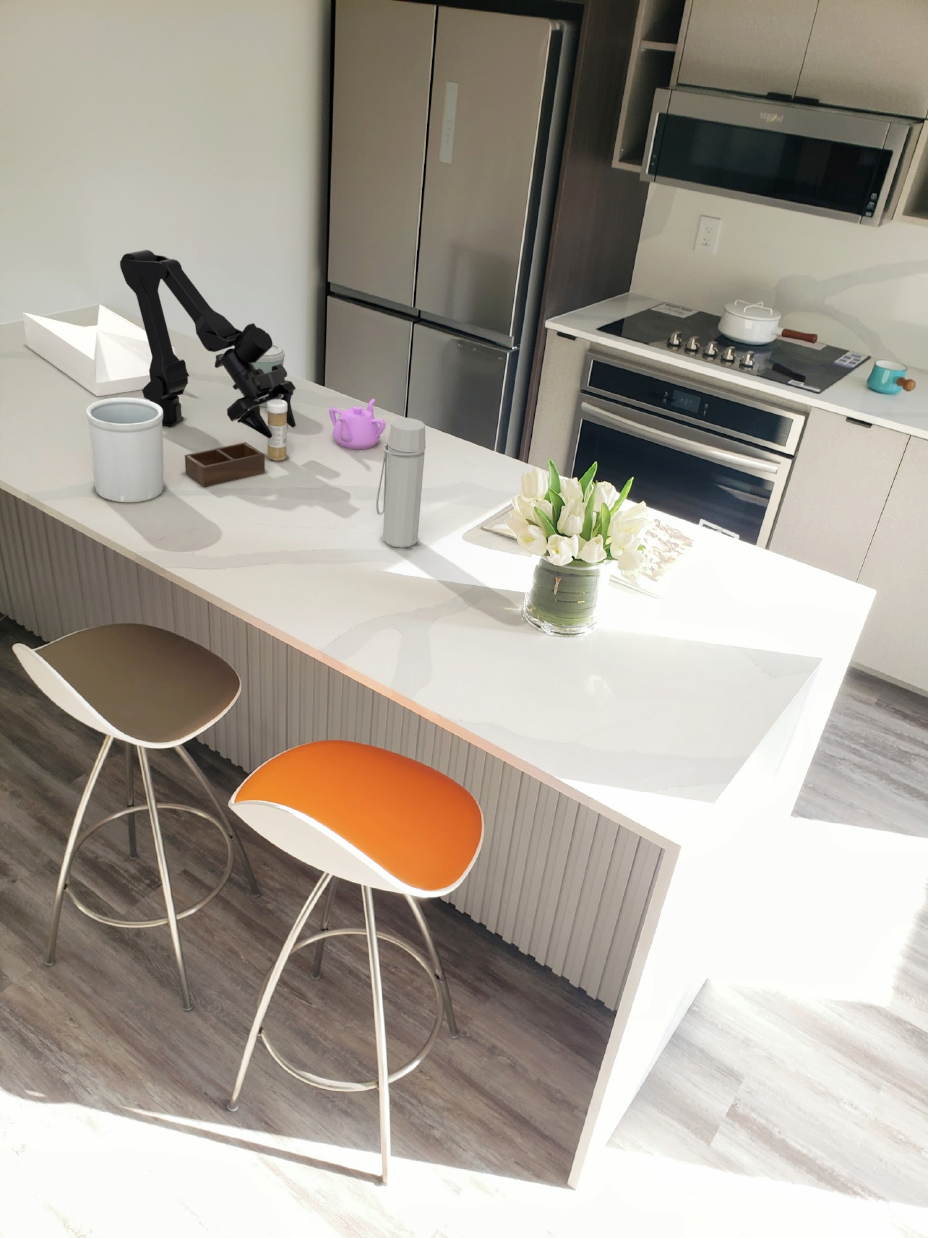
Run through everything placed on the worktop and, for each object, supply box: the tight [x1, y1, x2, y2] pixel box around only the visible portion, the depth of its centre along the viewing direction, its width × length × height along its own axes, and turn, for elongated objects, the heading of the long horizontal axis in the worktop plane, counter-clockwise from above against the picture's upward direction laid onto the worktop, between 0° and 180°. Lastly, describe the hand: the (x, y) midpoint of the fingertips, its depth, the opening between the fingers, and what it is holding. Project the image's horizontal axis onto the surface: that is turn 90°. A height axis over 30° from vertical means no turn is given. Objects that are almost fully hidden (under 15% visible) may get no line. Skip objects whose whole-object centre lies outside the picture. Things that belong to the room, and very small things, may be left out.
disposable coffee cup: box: [252, 342, 286, 408], centre depth 260 cm, size 11×11×15 cm
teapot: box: [328, 398, 387, 450], centre depth 245 cm, size 12×14×9 cm
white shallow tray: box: [22, 304, 177, 397], centre depth 274 cm, size 45×22×10 cm, turn 42°
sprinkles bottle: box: [266, 399, 288, 462], centre depth 231 cm, size 5×5×14 cm
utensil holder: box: [85, 397, 165, 503], centre depth 208 cm, size 15×15×18 cm
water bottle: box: [375, 417, 427, 549], centre depth 198 cm, size 9×8×25 cm
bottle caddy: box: [184, 441, 266, 488], centre depth 223 cm, size 8×15×4 cm, turn 132°
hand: (282, 431), depth 230 cm, fingers open, 8 cm apart
